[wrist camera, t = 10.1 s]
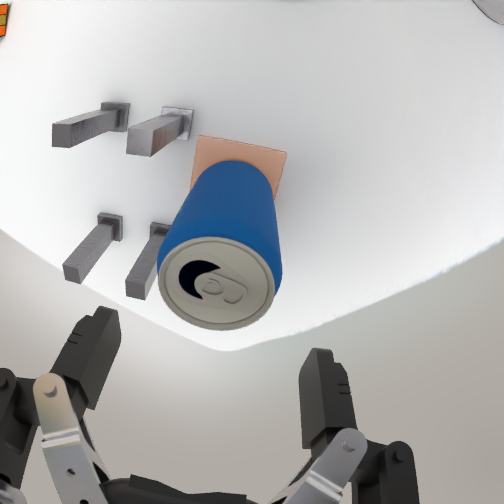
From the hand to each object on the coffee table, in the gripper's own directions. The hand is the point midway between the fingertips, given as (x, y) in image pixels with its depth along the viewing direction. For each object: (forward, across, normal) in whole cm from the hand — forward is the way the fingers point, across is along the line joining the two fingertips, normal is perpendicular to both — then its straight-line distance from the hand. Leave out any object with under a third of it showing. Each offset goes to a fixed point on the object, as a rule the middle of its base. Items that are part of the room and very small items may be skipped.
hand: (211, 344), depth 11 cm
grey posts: (+16, +6, 0) cm, 17 cm away
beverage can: (+15, 0, 0) cm, 15 cm away
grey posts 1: (+15, +12, 0) cm, 19 cm away
